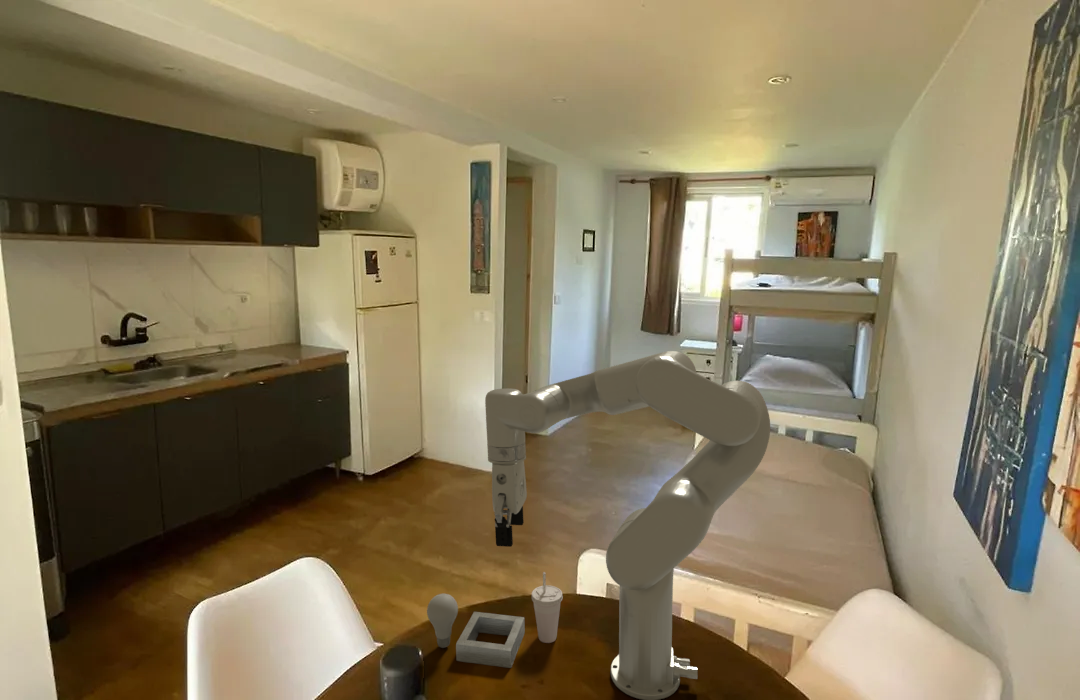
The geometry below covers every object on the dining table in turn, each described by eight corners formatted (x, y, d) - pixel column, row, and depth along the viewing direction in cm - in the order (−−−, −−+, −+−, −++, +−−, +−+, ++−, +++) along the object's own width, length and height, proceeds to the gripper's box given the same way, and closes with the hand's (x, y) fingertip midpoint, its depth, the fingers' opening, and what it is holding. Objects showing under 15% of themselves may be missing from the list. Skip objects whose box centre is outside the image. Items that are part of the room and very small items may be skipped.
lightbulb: (452, 658, 109) (451, 605, 108) (423, 654, 111) (421, 602, 109) (463, 639, 115) (461, 589, 114) (435, 635, 117) (433, 586, 115)
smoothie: (538, 625, 120) (537, 563, 118) (567, 631, 117) (566, 568, 116) (527, 643, 114) (526, 578, 112) (557, 650, 112) (556, 584, 110)
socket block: (524, 632, 117) (524, 617, 117) (511, 668, 106) (510, 651, 106) (474, 626, 119) (474, 611, 119) (456, 660, 109) (455, 644, 108)
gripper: (515, 465, 101) (519, 556, 103) (533, 440, 118) (536, 518, 120) (475, 464, 103) (480, 554, 104) (499, 439, 119) (502, 516, 121)
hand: (510, 534), depth 112 cm, fingers open, 9 cm apart
